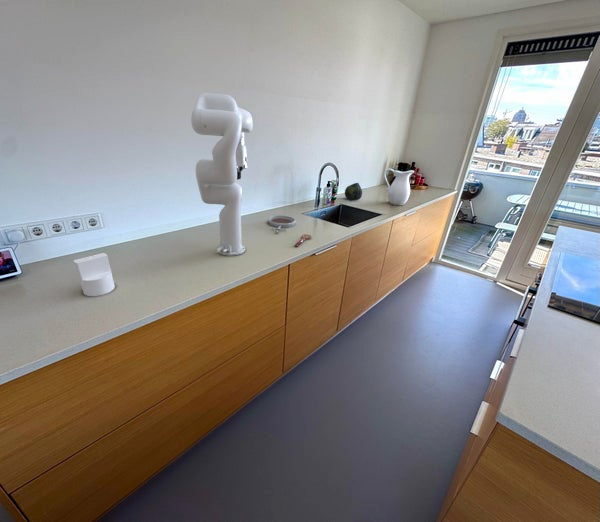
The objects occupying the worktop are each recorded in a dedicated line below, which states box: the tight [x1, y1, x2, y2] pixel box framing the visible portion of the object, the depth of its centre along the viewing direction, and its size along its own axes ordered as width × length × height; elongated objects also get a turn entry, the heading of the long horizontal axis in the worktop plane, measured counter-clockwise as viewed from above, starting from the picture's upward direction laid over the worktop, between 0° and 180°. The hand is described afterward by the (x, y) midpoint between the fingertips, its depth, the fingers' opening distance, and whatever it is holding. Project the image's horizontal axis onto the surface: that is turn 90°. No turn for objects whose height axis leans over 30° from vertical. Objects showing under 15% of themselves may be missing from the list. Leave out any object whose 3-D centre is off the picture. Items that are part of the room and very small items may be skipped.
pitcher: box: [383, 168, 415, 206], centre depth 240 cm, size 24×17×28 cm
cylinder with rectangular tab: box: [73, 252, 116, 297], centre depth 97 cm, size 9×9×12 cm
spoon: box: [294, 233, 312, 248], centre depth 151 cm, size 18×5×2 cm, turn 158°
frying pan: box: [267, 214, 296, 235], centre depth 171 cm, size 17×3×28 cm
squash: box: [344, 182, 363, 201], centre depth 244 cm, size 14×15×15 cm
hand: (237, 179), depth 154 cm, fingers closed
